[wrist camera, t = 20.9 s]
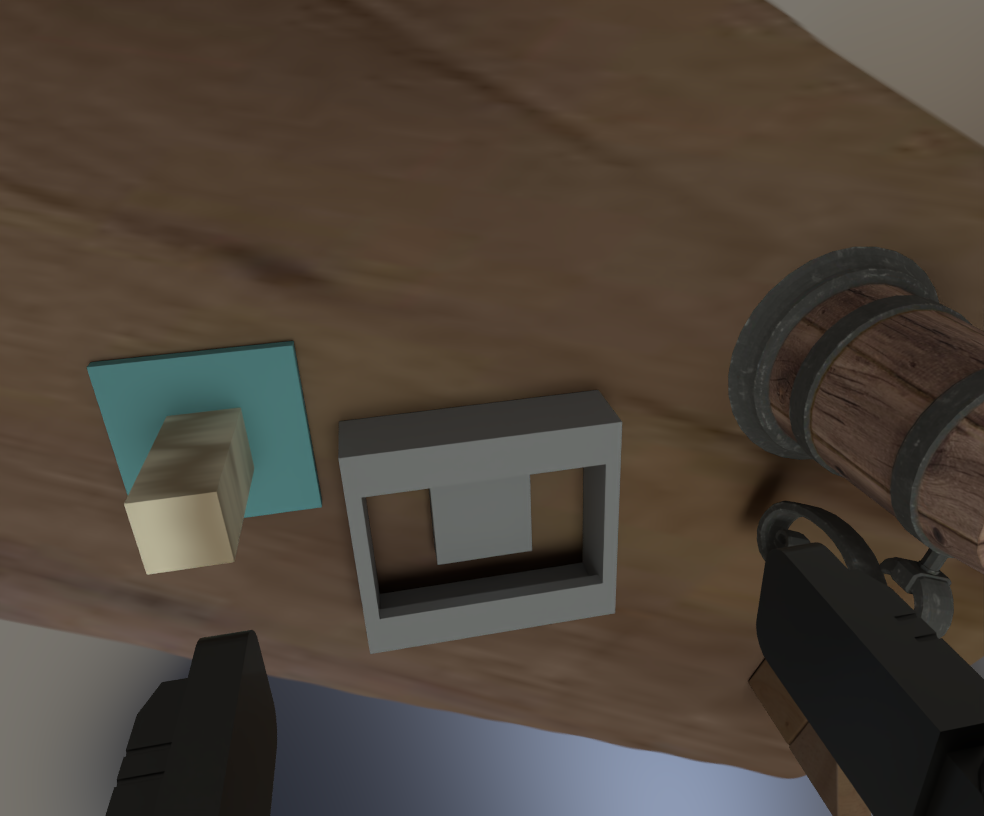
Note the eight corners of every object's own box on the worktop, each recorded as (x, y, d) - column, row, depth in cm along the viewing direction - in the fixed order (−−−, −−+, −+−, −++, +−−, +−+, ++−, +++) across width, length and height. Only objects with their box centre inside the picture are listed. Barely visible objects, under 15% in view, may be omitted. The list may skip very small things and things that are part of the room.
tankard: (797, 214, 48) (1059, 309, 31) (984, 284, 53) (1301, 400, 36) (654, 507, 57) (794, 713, 39) (826, 543, 62) (1019, 740, 44)
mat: (142, 525, 50) (139, 532, 49) (90, 362, 44) (86, 367, 43) (322, 500, 51) (321, 507, 50) (293, 340, 46) (292, 345, 45)
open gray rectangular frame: (368, 606, 56) (370, 653, 52) (339, 421, 49) (338, 458, 44) (594, 570, 58) (614, 613, 54) (598, 389, 51) (622, 421, 47)
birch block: (183, 477, 48) (146, 574, 39) (166, 416, 46) (124, 503, 37) (254, 468, 48) (234, 561, 39) (240, 407, 46) (216, 491, 37)
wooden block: (745, 681, 68) (869, 875, 52) (811, 593, 64) (965, 772, 48) (775, 689, 69) (905, 880, 53) (841, 602, 65) (1002, 780, 49)
